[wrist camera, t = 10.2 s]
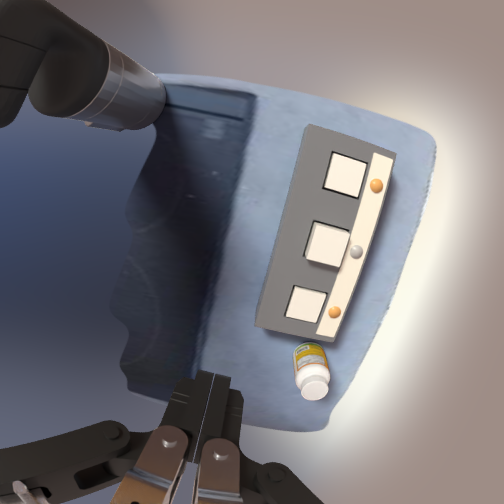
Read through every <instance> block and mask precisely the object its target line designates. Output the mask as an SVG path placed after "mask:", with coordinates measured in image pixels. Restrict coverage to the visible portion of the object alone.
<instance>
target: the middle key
mask: <svg viewBox="0 0 504 504" xmlns="http://www.w3.org/2000/svg"><path fill="white" fill-rule="evenodd" d="M349 236H350V234H349V233H348V232H347V231H346V230H345V229H341V228H338V227H334V226H331V225H327V224H324V223H320V222H316V221H313V224H312V228H311V231H310V234H309V238H308V241H307V245H306V248H305V251H304V253H305V256H306V259H309V260H313V261H317V262H321V263H325V264H329V265H333V266H337V267H340V264H341V261H342V258H343V255H344V252H345V249H346V245H347V242H348V239H349Z"/></svg>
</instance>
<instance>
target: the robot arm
mask: <svg viewBox="0 0 504 504" xmlns="http://www.w3.org/2000/svg"><path fill="white" fill-rule="evenodd" d="M27 93H28V96H29V99H30V102H31V104H32V105H33V107H34V108H35V109H36V110H37V111H38V112H40V113H42V114H44V115H47V116H52V117H61V118H67V119H74V120H81V121H84V122H85V124H86V126H88V127H95V128H101V129H108V130H114V131H119V132H120V131H122V130H124V129H130V130H138V129H142V128H145V127H147V126H149V125H150V124H152V123H153V122H154V121H155V120H156V119H157V118H158V117H159V116H160V114H161V112H162V110H163V108H164V105H165V101H166V90H165V87H164V85H163V83H162V81H161V80H160V79H159V78H158V77H157V76H155V75H154V74H153V73H151V72H149V71H148V70H147V69H145V68H144V67H143V66H141V65H140V64H138V63H137V62H135V61H134V60H132V59H131V58H130V57H128V56H127V55H125V54H124V53H122V52H121V51H119V50H117V49H116V48H114V47H113V46H111V45H110V44H108V43H107V42H105V41H104V40H102V39H100V38H99V37H97V36H96V35H94V34H93V33H92V32H90V31H89V30H87V29H86V28H84V27H83V26H81V25H80V24H78V23H77V22H75V21H74V20H72V19H71V18H69V17H68V16H67V15H65V14H64V13H63V12H61V11H60V10H59V9H57V8H56V7H54V6H53V5H52V4H50V3H49V2H47V1H46V0H0V128H3V127H5V126H7V125H9V124H10V123H12V122H13V121H14V119H15V118H16V116H17V114H18V113H19V110H20V108H21V107H22V104H23V102H24V100H25V98H26V95H27ZM213 376H214V373H211V372H207V371H203V370H199V369H198V371H197V374H196V377H195V380H193V379H190V378H186V377H183V378H182V379H181V380H180V381H178V382H177V383H176V386H175V388H174V391H173V393H172V396H171V399H170V401H169V403H168V406H167V408H166V411H165V413H164V416H163V418H162V421H161V423H160V425H159V426H158V427H157V428H156V429H155V430H153V431H150V432H143V433H142V432H141V433H140V432H129V431H128V429H127V428H126V427H125V426H124V425H123V424H121V423H119V422H116V421H111V420H108V421H103V422H100V423H97V424H94V425H91V426H87V427H84V428H81V429H78V430H75V431H71V432H68V433H65V434H61V435H58V436H54V437H50V438H46V439H43V440H39V441H35V442H31V443H27V444H23V445H18V446H14V447H9V448H5V449H0V504H60V503H63V502H66V501H70V500H73V499H76V498H79V497H82V496H85V495H88V494H90V493H93V492H96V491H99V490H101V489H104V488H106V487H109V486H111V485H114V484H116V483H119V482H121V483H120V485H119V487H118V489H117V491H116V493H115V494H114V497H113V498H112V500H111V502H110V504H172V501H173V498H174V496H175V493H176V491H177V488H178V485H179V483H180V480H181V477H182V474H183V473H184V471H185V468H186V464H187V461H188V462H192V461H193V457H194V452H195V449H196V444H197V441H198V437H199V433H200V429H201V425H202V421H203V417H204V413H205V409H206V405H207V401H208V397H209V393H210V388H211V384H212V380H213ZM230 381H231V377H227V376H223V375H219V374H215V377H214V381H213V385H212V389H211V393H210V397H209V401H208V405H207V409H206V413H205V417H204V421H203V425H202V429H201V433H200V438H199V442H198V446H197V451H196V455H195V459H194V463H196V464H198V468H197V472H196V476H195V481H194V489H193V497H192V504H324V503H323V502H322V501H321V500H319V498H318V497H316V496H315V495H314V494H313V493H312V492H311V491H310V490H309V489H308V488H307V487H306V486H305V485H304V484H303V483H302V482H301V481H300V480H299V478H298V477H297V476H296V475H295V474H293V472H292V471H291V470H290V469H289V468H288V467H286V466H285V465H283V464H280V463H276V462H270V463H266V464H263V465H262V464H259V463H257V462H255V461H252V460H250V459H249V458H247V457H246V456H245V455H244V454H243V453H242V452H241V450H240V448H239V437H240V429H241V421H242V412H243V403H244V399H243V396H242V394H241V392H240V391H238V390H234V389H230V388H229V387H230Z"/></svg>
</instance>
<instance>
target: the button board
mask: <svg viewBox="0 0 504 504" xmlns="http://www.w3.org/2000/svg"><path fill="white" fill-rule="evenodd" d="M333 153H335V154H338V155H341V156H344V157H347V158H350V159H353V160H356V161H359V162H362V163H365V164H366V168H365V172H364V176H363V179H362V183H361V187H360V190H359V194H358V197H355V196H352V195H349V194H346V193H343V192H339V191H336V190H333V189H329V188H326V187H323V183H324V179H325V175H326V171H327V167H328V164H329V160H330V156H331V154H333ZM396 154H397V153H394V152H392V151H389V150H387V149H384V148H381V147H379V146H376V145H373V144H371V143H368V142H365V141H362V140H360V139H357V138H354V137H351V136H348V135H345V134H342V133H339V132H336V131H332V130H329V129H326V128H323V127H319V126H316V125H313V124H309V125H308V126H307V127H306V128H305V129H304V133H303V137H302V141H301V145H300V149H299V153H298V157H297V160H296V164H295V168H294V172H293V176H292V180H291V184H290V187H289V191H288V195H287V199H286V203H285V206H284V210H283V214H282V218H281V221H280V225H279V229H278V232H277V236H276V240H275V243H274V247H273V251H272V254H271V258H270V262H269V265H268V269H267V272H266V276H265V280H264V283H263V287H262V290H261V294H260V297H259V301H258V305H257V308H256V315H255V325H254V326H256V327H260V328H265V329H269V330H274V331H278V332H283V333H287V334H292V335H297V336H302V337H307V338H312V339H317V340H322V341H327V342H334V340H335V338H336V335H337V333H338V331H339V328H340V326H341V323H342V321H343V319H344V316H345V314H346V311H347V309H348V306H349V304H350V301H351V299H352V296H353V293H354V291H355V288H356V285H357V283H358V280H359V277H360V275H361V272H362V269H363V266H364V263H365V260H366V258H367V255H368V252H369V249H370V246H371V243H372V240H373V237H374V233H375V230H376V227H377V224H378V221H379V217H380V214H381V211H382V207H383V204H384V200H385V197H386V193H387V190H388V186H389V182H390V178H391V175H392V171H393V167H394V163H395V159H396ZM313 221H316V222H320V223H324V224H327V225H331V226H334V227H338V228H341V229H345V230H346V231H347V232H348V233H349V234H350V236H349V239H348V242H347V245H346V249H345V252H344V255H343V258H342V261H341V264H340V267H337V266H333V265H329V264H325V263H321V262H317V261H313V260H309V259H306V256H305V253H304V251H305V248H306V245H307V241H308V238H309V234H310V231H311V228H312V224H313ZM293 285H297V286H301V287H306V288H310V289H314V290H318V291H323V292H325V294H326V297H325V300H324V303H323V305H322V308H321V311H320V314H319V316H318V319H317V321H316V323H314V322H309V321H305V320H300V319H295V318H291V317H286V311H285V310H286V307H287V304H288V301H289V298H290V295H291V291H292V288H293Z"/></svg>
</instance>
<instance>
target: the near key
mask: <svg viewBox="0 0 504 504" xmlns="http://www.w3.org/2000/svg"><path fill="white" fill-rule="evenodd" d="M365 168H366V164H365V163H362V162H359V161H356V160H353V159H350V158H347V157H344V156H341V155H338V154H335V153H333V154H331V156H330V160H329V164H328V167H327V171H326V175H325V179H324V183H323V187H326V188H329V189H333V190H336V191H339V192H343V193H346V194H349V195H352V196H355V197H358V194H359V190H360V187H361V183H362V179H363V176H364V172H365Z"/></svg>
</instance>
